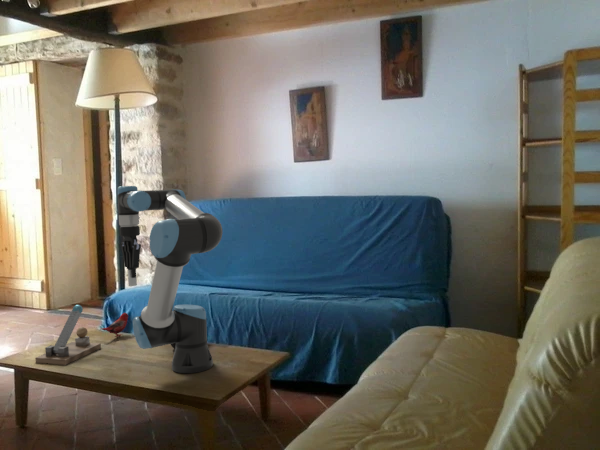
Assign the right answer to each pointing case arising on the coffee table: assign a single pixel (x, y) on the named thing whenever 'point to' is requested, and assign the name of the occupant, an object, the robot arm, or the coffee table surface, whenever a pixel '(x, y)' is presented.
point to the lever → (68, 328)
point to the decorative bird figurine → (118, 325)
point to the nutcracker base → (70, 350)
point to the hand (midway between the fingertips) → (132, 285)
